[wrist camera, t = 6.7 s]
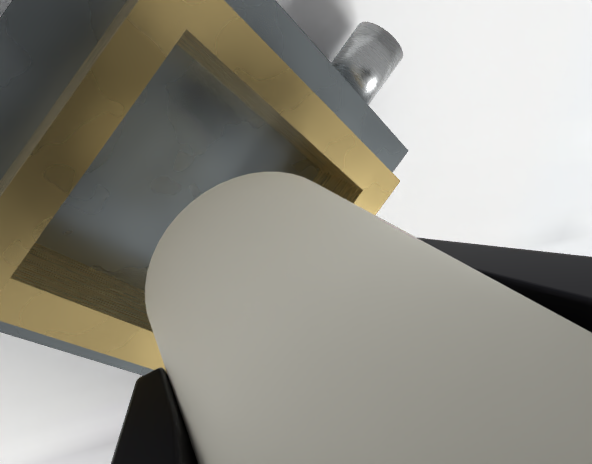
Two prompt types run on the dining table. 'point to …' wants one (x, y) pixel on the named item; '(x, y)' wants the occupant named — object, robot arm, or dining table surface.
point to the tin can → (353, 340)
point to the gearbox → (160, 145)
